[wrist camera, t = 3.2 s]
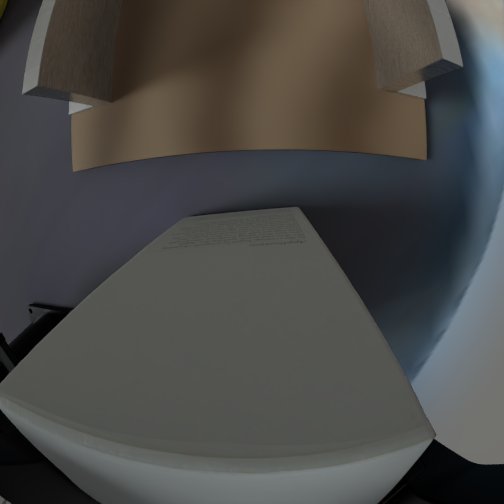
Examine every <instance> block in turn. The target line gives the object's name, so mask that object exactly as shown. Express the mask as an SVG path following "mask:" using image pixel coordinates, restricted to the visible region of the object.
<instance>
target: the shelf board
mask: <svg viewBox="0 0 504 504" xmlns="http://www.w3.org/2000/svg"><path fill="white" fill-rule="evenodd" d="M71 132H72V162H73V172H75V171H81V170H86V169H91V168H96V167H101V166H107V165H112V164H118V163H124V162H130V161H137V160H143V159H151V158H159V157H167V156H176V155H186V154H197V153H209V152H225V151H246V150H319V151H340V152H355V153H367V154H378V155H387V156H396V157H404V158H411V159H418V160H427V139H426V116H425V103H424V100H422V99H418V98H414V97H410V96H405V95H401V94H396V93H391V92H386V91H380V90H378V87H377V77H376V68H375V60H374V53H373V47H372V40H371V35H370V29H369V24H368V19H367V14H366V10H365V5H364V1H363V0H122V5H121V10H120V16H119V22H118V29H117V36H116V45H115V54H114V65H113V80H112V103H110V104H106V105H103V106H99V107H96V108H93V109H90V110H87V111H83V112H80V113H78V114H75V115H72V123H71Z"/></svg>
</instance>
